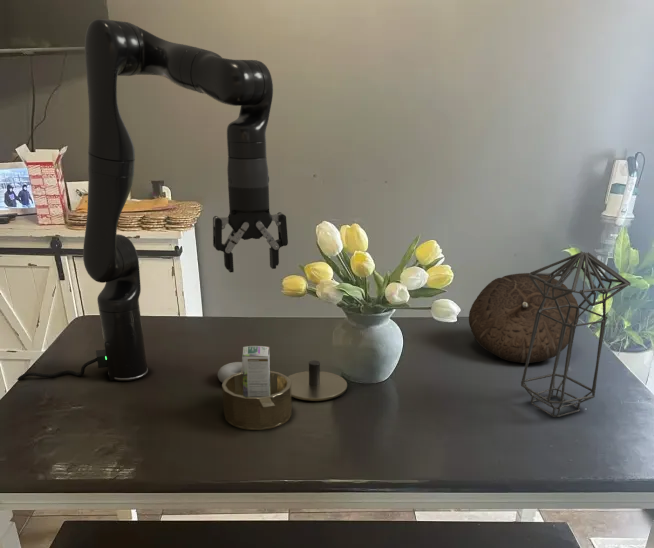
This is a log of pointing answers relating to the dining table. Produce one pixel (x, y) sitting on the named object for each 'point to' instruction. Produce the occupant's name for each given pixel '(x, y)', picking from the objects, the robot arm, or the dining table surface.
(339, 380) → the lid
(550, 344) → the brown fungus
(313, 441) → the dining table surface
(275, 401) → the pot
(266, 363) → the syrup box
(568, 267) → the geometric lantern
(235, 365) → the donut
